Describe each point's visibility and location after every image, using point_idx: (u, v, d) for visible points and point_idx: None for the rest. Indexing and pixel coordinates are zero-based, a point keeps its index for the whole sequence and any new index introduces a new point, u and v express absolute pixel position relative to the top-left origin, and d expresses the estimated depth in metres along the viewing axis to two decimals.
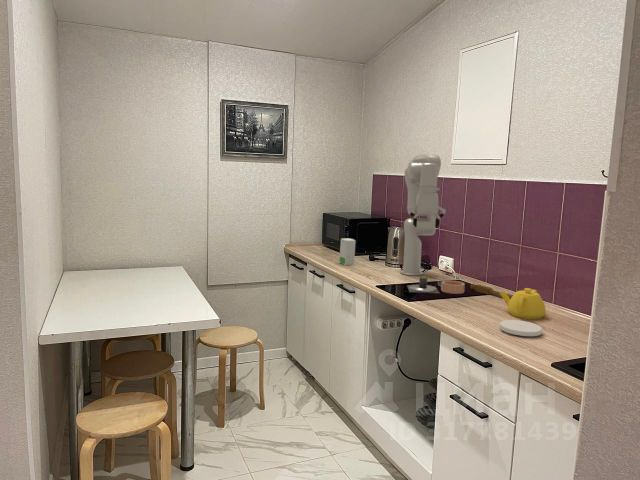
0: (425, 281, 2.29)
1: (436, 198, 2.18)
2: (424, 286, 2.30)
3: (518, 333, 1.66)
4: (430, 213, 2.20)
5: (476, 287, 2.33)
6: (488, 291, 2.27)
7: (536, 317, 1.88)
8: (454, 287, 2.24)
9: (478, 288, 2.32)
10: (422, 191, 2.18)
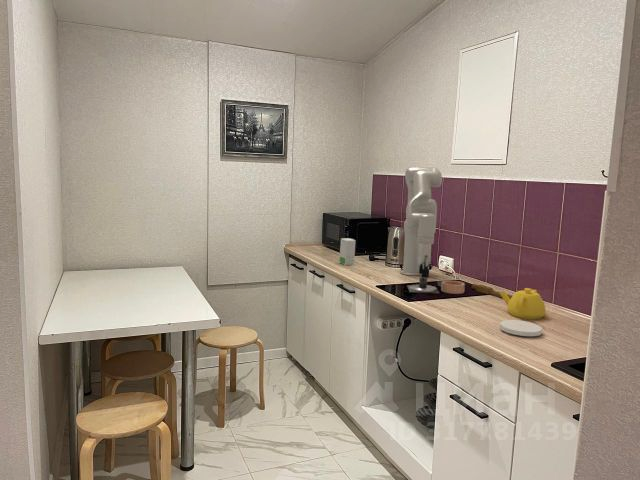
0: (425, 281, 2.29)
1: None
2: (424, 286, 2.30)
3: (518, 333, 1.66)
4: None
5: (477, 287, 2.33)
6: (488, 291, 2.27)
7: (536, 317, 1.88)
8: (454, 287, 2.24)
9: (479, 288, 2.32)
10: (431, 242, 2.25)
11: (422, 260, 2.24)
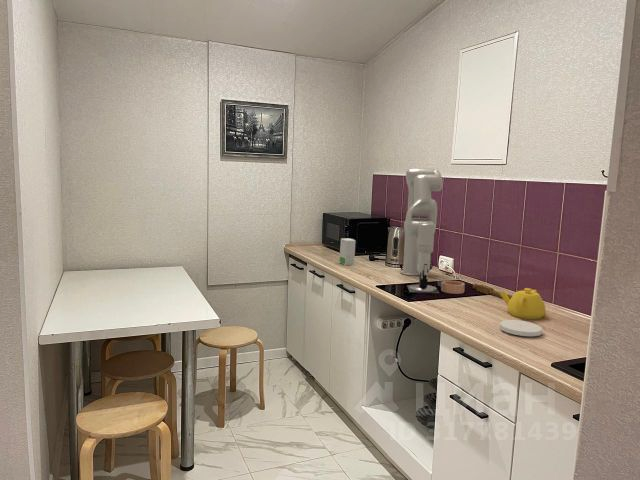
0: None
1: None
2: None
3: (518, 333, 1.66)
4: None
5: (478, 287, 2.34)
6: (488, 291, 2.27)
7: (536, 317, 1.88)
8: (454, 287, 2.24)
9: (479, 288, 2.32)
10: (431, 250, 2.26)
11: (421, 269, 2.25)
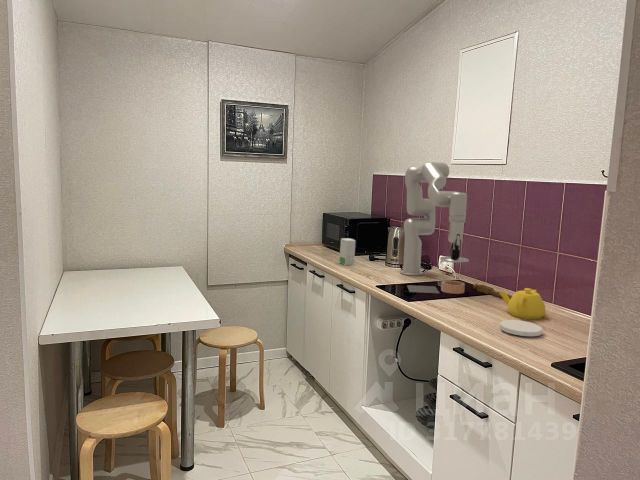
0: None
1: None
2: None
3: (518, 333, 1.66)
4: None
5: (478, 287, 2.34)
6: (489, 291, 2.27)
7: (536, 317, 1.88)
8: (454, 287, 2.24)
9: (480, 288, 2.32)
10: (463, 220, 2.22)
11: (454, 239, 2.21)
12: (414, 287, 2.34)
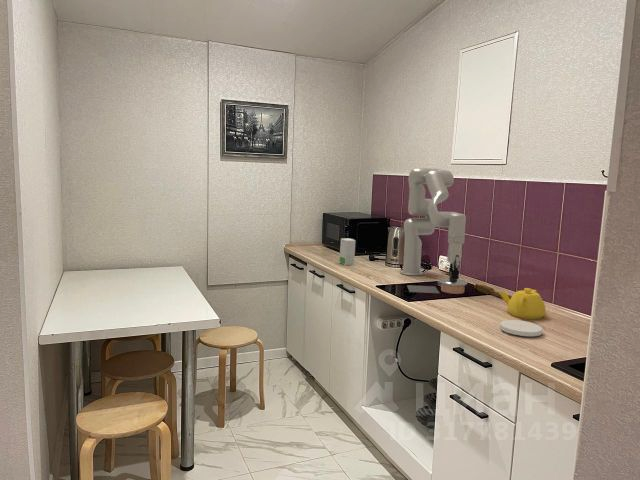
0: None
1: None
2: (455, 280, 2.27)
3: (518, 333, 1.66)
4: None
5: (479, 287, 2.33)
6: (489, 291, 2.27)
7: (536, 317, 1.88)
8: (454, 287, 2.24)
9: (480, 288, 2.32)
10: (462, 241, 2.23)
11: (453, 260, 2.22)
12: (414, 287, 2.34)
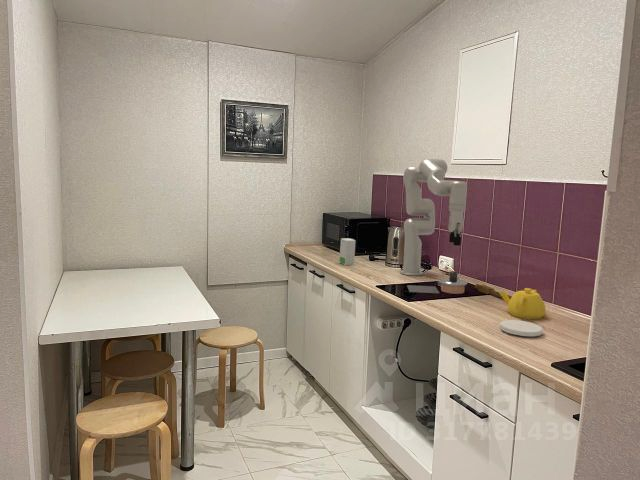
0: (456, 275, 2.27)
1: None
2: (455, 280, 2.27)
3: (518, 333, 1.66)
4: None
5: (479, 287, 2.33)
6: (489, 291, 2.27)
7: (536, 317, 1.88)
8: (454, 287, 2.24)
9: (480, 288, 2.32)
10: (463, 209, 2.22)
11: (454, 228, 2.21)
12: (414, 287, 2.34)
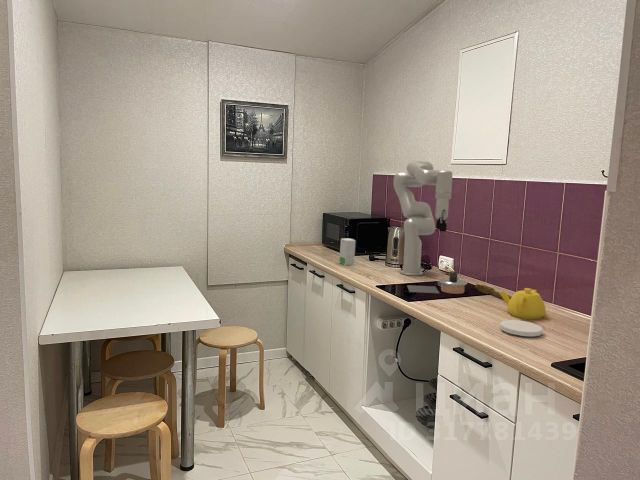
0: (456, 275, 2.27)
1: None
2: (455, 280, 2.27)
3: (518, 333, 1.66)
4: None
5: (479, 287, 2.33)
6: (489, 291, 2.27)
7: (536, 317, 1.88)
8: (454, 287, 2.24)
9: (481, 288, 2.32)
10: (449, 197, 2.34)
11: (440, 214, 2.33)
12: (414, 287, 2.34)
